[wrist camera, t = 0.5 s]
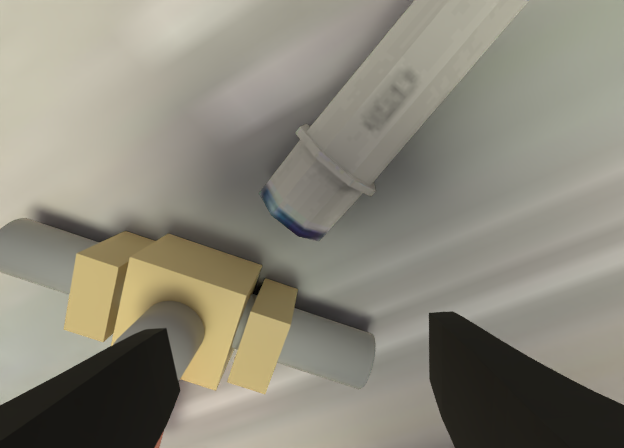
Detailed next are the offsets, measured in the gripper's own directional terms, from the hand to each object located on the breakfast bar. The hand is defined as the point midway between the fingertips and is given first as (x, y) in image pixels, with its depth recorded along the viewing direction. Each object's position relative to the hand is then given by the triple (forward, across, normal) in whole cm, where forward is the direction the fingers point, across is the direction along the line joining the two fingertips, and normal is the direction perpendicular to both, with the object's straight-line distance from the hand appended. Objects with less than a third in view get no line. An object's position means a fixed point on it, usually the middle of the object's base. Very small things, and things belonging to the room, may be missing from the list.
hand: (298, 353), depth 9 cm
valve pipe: (+10, +7, +2) cm, 12 cm away
